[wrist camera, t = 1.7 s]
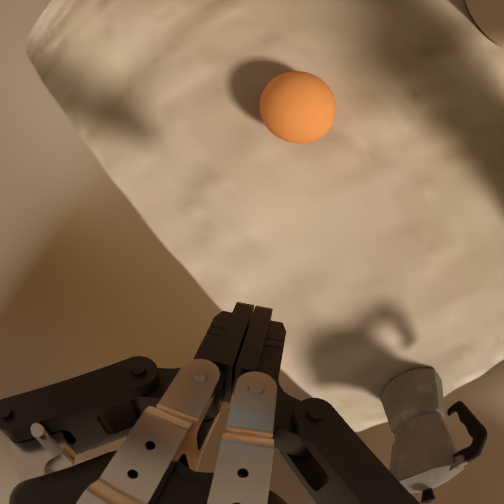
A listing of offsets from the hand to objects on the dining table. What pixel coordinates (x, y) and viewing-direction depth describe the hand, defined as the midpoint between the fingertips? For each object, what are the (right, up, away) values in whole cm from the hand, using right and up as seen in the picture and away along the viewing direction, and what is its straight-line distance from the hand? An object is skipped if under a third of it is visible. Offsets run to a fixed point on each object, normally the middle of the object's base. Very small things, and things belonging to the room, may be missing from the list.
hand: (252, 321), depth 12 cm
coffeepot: (+23, -15, +19) cm, 33 cm away
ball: (+3, +14, +7) cm, 15 cm away
